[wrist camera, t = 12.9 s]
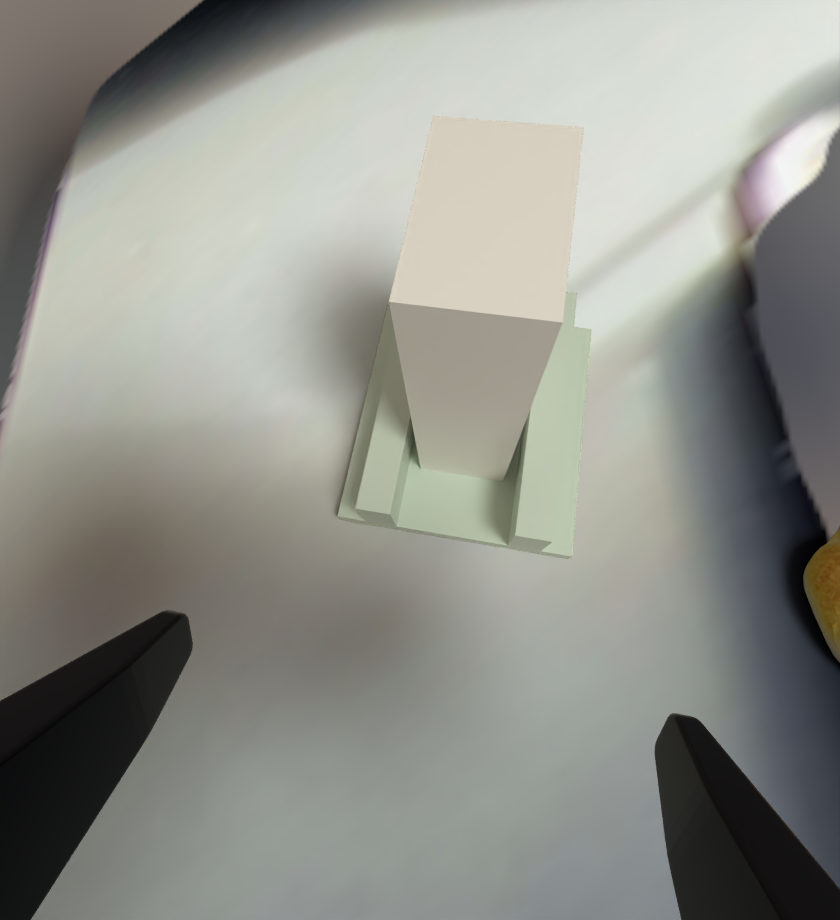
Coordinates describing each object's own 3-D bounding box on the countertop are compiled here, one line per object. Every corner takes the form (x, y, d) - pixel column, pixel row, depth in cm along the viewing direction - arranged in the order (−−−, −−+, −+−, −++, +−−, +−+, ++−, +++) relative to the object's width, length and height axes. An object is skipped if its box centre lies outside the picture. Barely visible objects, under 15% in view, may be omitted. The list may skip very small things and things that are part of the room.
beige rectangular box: (503, 481, 23) (562, 322, 11) (420, 468, 24) (388, 301, 11) (517, 370, 25) (583, 127, 13) (441, 360, 25) (433, 115, 13)
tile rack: (567, 558, 23) (588, 548, 19) (340, 519, 24) (323, 503, 21) (587, 337, 26) (607, 296, 23) (389, 313, 27) (380, 271, 24)
